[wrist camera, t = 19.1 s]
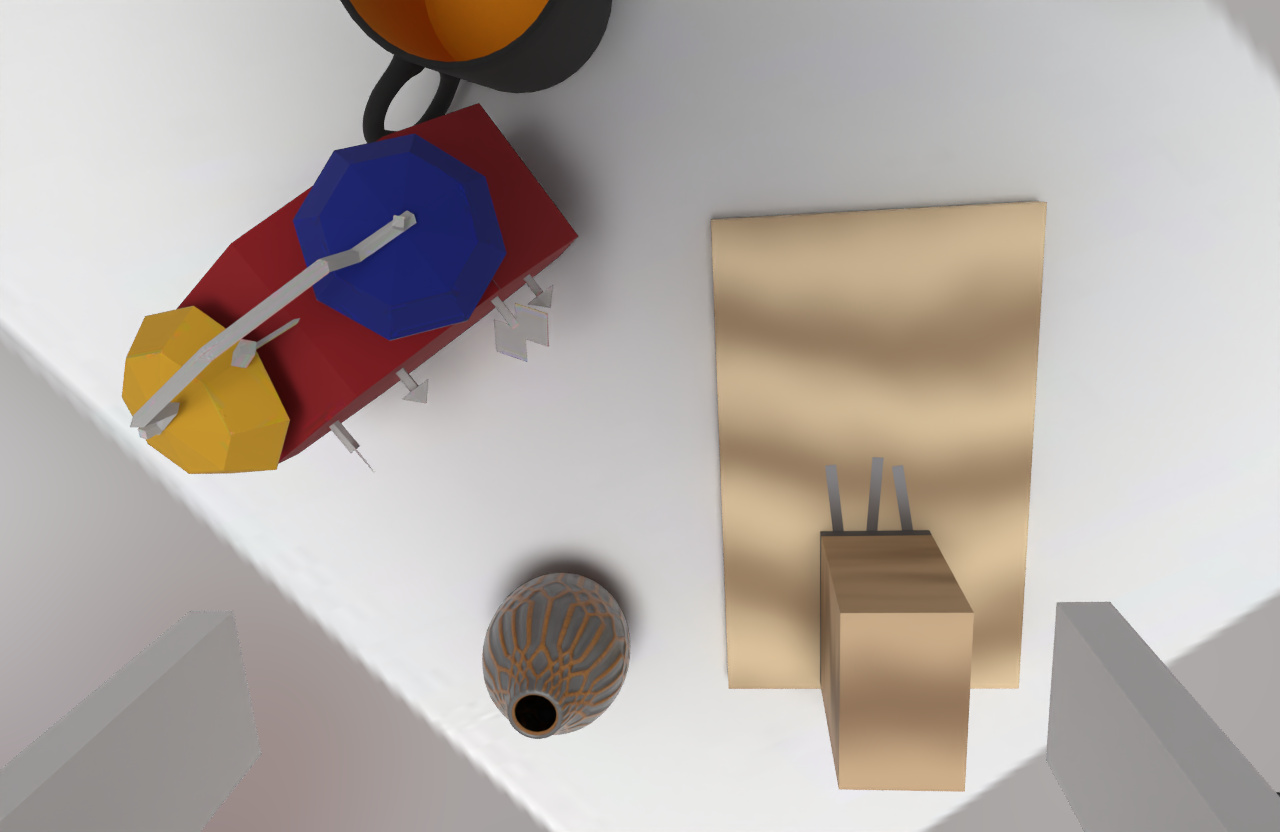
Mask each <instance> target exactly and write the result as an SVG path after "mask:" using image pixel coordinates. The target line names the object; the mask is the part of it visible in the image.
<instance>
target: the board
mask: <svg viewBox="0 0 1280 832" xmlns="http://www.w3.org/2000/svg"><path fill="white" fill-rule="evenodd" d="M1046 207H1047V202H1039V201H1033V202H1014V203H996V204H978V205H960V206H942V207H924V208H906V209H888V210H870V211H852V212H834V213H816V214H798V215H780V216H762V217H744V218H726V219H711V235H712V261H713V287H714V314H715V340H716V366H717V392H718V419H719V445H720V471H721V497H722V524H723V550H724V576H725V602H726V629H727V655H728V681H729V689H821V684H820V531H895V530H929V531H930V533H931V534H932V536H933V538H934V540H935V542H936V544H937V545H938V547H939V549H940V551H941V553H942V555H943V557H944V558H945V560H946V562H947V564H948V566H949V568H950V569H951V571H952V573H953V575H954V577H955V579H956V581H957V582H958V584H959V586H960V588H961V590H962V592H963V593H964V595H965V597H966V599H967V601H968V603H969V604H970V606H971V608H972V610H973V612H974V622H973V642H972V661H971V680H970V689H975V688H1019V674H1020V656H1021V639H1022V622H1023V604H1024V587H1025V570H1026V552H1027V535H1028V518H1029V501H1030V483H1031V466H1032V449H1033V431H1034V414H1035V397H1036V380H1037V362H1038V345H1039V328H1040V310H1041V293H1042V276H1043V259H1044V241H1045V224H1046Z"/></svg>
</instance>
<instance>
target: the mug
mask: <svg viewBox="0 0 1280 832" xmlns="http://www.w3.org/2000/svg"><path fill="white" fill-rule="evenodd" d="M340 1H341V2H342V4H343V5H344V7H345V8H346V10H347V11H348V13H349V14H350V16H351V18H352V19H353V20H354V21H355V22H356V23H357V24H358V26H359V27H360V28H361V29H362V30H363V31H364V32H365V33H366V34H367V35H368V36H369V37H370V38H371V39H373V40H374V41H375V42H376V43H378V44H379V45H380V46H381V47H383V48H384V49H385V50H387V51H389V52H391V53H392V54H394V56H393V59H392V61H391V63H390V65H389V66H388V68H387V70H386V71H385V73H384V74H383V76H382V77H381V78H380V80H379V81H378V83H377V84H376V86H375V88H374V89H373V91H372V93H371V95H370V97H369V100H368V102H367V105H366V108H365V112H364V116H363V133H364V137H365V140H366V142H367V143H372V142H376V141H377V140H379V139H380V138H382V137H383V136H386V135H389V134H392V133H395V132H398V131H389V130H384V120H385V115H386V112H387V110H388V107H389V105H390V103H391V101H392V100H393V98H394V97H395V95H396V94H397V92H398V91H399V90H400V88H401V87H402V86H403V85H404V84H405V83H406V82H407V81H408V80H409V79H411V78H412V77H413V76H415V75H417V74H419V73H420V72H421V71H422V70H423V69H424V68H425V67H426V68H429V69H432V70H435V71H438V72H439V73H440V84H439V87H438V90H437V92H436V94H435V97H434V99H433V101H432V102H431V104H430V106H429V108H428V109H427V111H426V112H425V114H424V115H423V116H422V118H421V119H420V120H419V121H418V122H417V123H416V124H415V125H418V124H420V123H423V122H426V121H429V120H432V119H435V118H438V117H440V116H443V115H445V113H446V112H447V110H448V108H449V106H450V104H451V102H452V100H453V98H454V95H455V92H456V90H457V87H458V84H459V82H460V79H463V80H466V81H469V82H473V83H476V84H479V85H482V86H485V87H489V88H492V89H495V90H498V91H504V92H512V93H525V92H534V91H538V90H542V89H547V88H549V87H551V86H554V85H556V84H558V83H560V82H562V81H564V80H565V79H567V78H568V77H569V76H571V75H572V74H574V73H575V72H576V71H577V70H578V69H579V68H580V67H581V66H582V65H583V64H584V63H585V62H586V61H587V60H588V59H589V58H590V56H591V55H592V53H593V52H594V51H595V49H596V48H597V46H598V44H599V42H600V40H601V38H602V36H603V34H604V32H605V30H606V26H607V23H608V19H609V16H610V12H611V4H612V0H340ZM415 125H414V126H415Z"/></svg>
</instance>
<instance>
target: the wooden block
mask: <svg viewBox="0 0 1280 832" xmlns="http://www.w3.org/2000/svg"><path fill="white" fill-rule="evenodd" d="M973 622H974V612H973V610H972V608H971V606H970V604H969V603H968V601H967V599H966V597H965V595H964V593H963V592H962V590H961V588H960V586H959V584H958V582H957V581H956V579H955V577H954V575H953V573H952V571H951V569H950V568H949V566H948V564H947V562H946V560H945V558H944V557H943V555H942V553H941V551H940V549H939V547H938V545H937V544H936V542H935V540H934V538H933V536H932V534H931V533H930V531H929V530H895V531H820V684H821V690H822V696H823V702H824V707H825V713H826V719H827V724H828V730H829V736H830V741H831V747H832V753H833V758H834V764H835V770H836V775H837V781H838V787H839V789H853V790H909V791H965V776H966V757H967V737H968V718H969V699H970V680H971V661H972V642H973Z"/></svg>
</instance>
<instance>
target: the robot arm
mask: <svg viewBox="0 0 1280 832" xmlns="http://www.w3.org/2000/svg"><path fill="white" fill-rule="evenodd" d="M260 755H261V750H260V744H259V739H258V734H257V729H256V725H255V719H254V715H253V709H252V704H251V699H250V694H249V689H248V684H247V679H246V674H245V669H244V663H243V659H242V653H241V648H240V643H239V638H238V634H237V628H236V623H235V618H234V613H233V611H190V612H188V613H187V614H186V615H185V616H184V617H182V618H181V619H180V620H179V621H178V622H176V623H175V624H174V625H173V626H172V627H170V628H169V629H168V630H167V631H166V632H164V633H163V634H162V635H161V636H160V637H158V638H157V639H156V640H155V641H154V642H152V643H151V644H150V645H149V646H148V647H146V648H145V649H144V650H143V651H142V652H140V653H139V654H138V655H137V656H136V657H134V658H133V659H132V660H131V661H130V662H128V663H127V664H126V665H125V666H124V667H122V668H121V669H120V670H119V671H118V672H116V673H115V674H114V675H113V676H112V677H111V678H109V679H108V680H107V681H106V682H104V683H103V684H102V685H101V686H100V687H99V688H97V689H96V690H95V691H94V692H92V693H91V694H90V695H89V696H88V697H86V698H85V699H84V700H83V701H82V702H80V703H79V704H78V705H77V706H76V707H74V708H73V709H72V710H71V711H70V712H68V713H67V714H66V715H65V716H64V717H63V718H61V719H60V720H59V721H58V722H56V723H55V724H54V725H53V726H52V727H51V728H49V729H48V730H47V731H46V732H44V733H43V734H42V735H41V736H40V737H39V738H37V739H36V740H35V741H34V742H32V743H31V744H30V745H29V746H28V747H26V748H25V749H24V750H23V751H22V752H20V753H19V754H18V755H17V756H16V757H14V758H13V759H12V760H11V761H10V762H9V763H7V764H6V765H5V766H4V767H2V768H1V769H0V832H200V831H201V830H202V829H203V828H204V826H205V825H206V824H207V823H208V821H209V820H210V819H211V818H212V816H213V815H214V814H215V812H216V811H217V810H218V809H219V807H220V806H221V805H222V803H223V802H224V801H225V800H226V798H227V797H228V796H229V795H230V793H231V792H232V791H233V790H234V788H235V787H236V786H237V784H238V783H239V782H240V781H241V779H242V778H243V777H244V776H245V774H246V773H247V772H248V770H249V769H250V768H251V767H252V765H253V764H254V763H255V762H256V760H257V759H258V758H259V757H260ZM1046 761H1047V763H1048V765H1049V767H1050V769H1051V770H1052V772H1053V774H1054V776H1055V778H1056V780H1057V782H1058V784H1059V785H1060V787H1061V789H1062V791H1063V793H1064V795H1065V797H1066V798H1067V800H1068V802H1069V804H1070V806H1071V808H1072V810H1073V812H1074V814H1075V815H1076V817H1077V819H1078V821H1079V823H1080V825H1081V827H1082V829H1083V830H1084V832H1280V793H1279V792H1275V791H1274V790H1273V789H1272V788H1271V786H1270V785H1269V784H1268V783H1267V782H1266V781H1265V779H1264V778H1263V777H1262V776H1261V775H1260V774H1259V772H1258V771H1257V770H1256V769H1255V768H1254V767H1253V766H1252V764H1250V762H1249V761H1248V760H1247V759H1246V758H1245V756H1244V755H1243V754H1242V753H1241V752H1240V751H1239V749H1238V748H1237V747H1236V746H1235V745H1234V744H1233V743H1232V742H1231V741H1230V739H1229V738H1228V737H1227V736H1226V735H1225V733H1224V732H1223V731H1222V730H1221V729H1220V728H1219V726H1218V725H1217V724H1216V723H1215V722H1214V721H1213V720H1212V718H1211V717H1210V716H1209V715H1208V714H1207V713H1206V712H1205V710H1204V709H1203V708H1202V707H1201V706H1200V705H1199V704H1198V702H1197V701H1196V700H1195V699H1194V698H1193V697H1192V695H1191V694H1190V693H1189V692H1188V691H1187V690H1186V689H1185V687H1184V686H1183V685H1182V684H1181V683H1180V682H1179V681H1178V679H1177V678H1176V677H1175V676H1174V675H1173V674H1172V673H1171V671H1170V670H1169V669H1168V668H1167V667H1166V666H1165V664H1164V663H1163V662H1162V661H1161V660H1160V659H1159V658H1158V656H1157V655H1156V654H1155V653H1154V652H1153V651H1152V650H1151V648H1150V647H1149V646H1148V645H1147V644H1146V643H1145V641H1144V640H1143V639H1142V638H1141V637H1140V636H1139V635H1138V633H1137V632H1136V631H1135V630H1134V629H1133V628H1132V627H1131V625H1130V624H1129V623H1128V622H1127V621H1126V620H1125V618H1124V617H1123V616H1122V615H1121V614H1120V613H1119V612H1118V610H1117V609H1116V608H1115V607H1114V606H1113V605H1112V604H1111V602H1057V607H1056V621H1055V636H1054V650H1053V665H1052V680H1051V694H1050V709H1049V723H1048V738H1047V753H1046Z"/></svg>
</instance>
